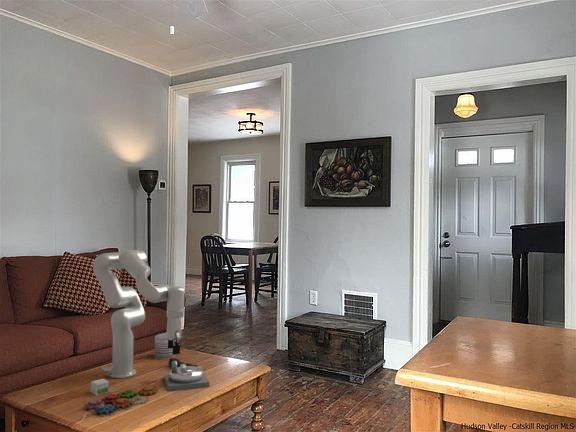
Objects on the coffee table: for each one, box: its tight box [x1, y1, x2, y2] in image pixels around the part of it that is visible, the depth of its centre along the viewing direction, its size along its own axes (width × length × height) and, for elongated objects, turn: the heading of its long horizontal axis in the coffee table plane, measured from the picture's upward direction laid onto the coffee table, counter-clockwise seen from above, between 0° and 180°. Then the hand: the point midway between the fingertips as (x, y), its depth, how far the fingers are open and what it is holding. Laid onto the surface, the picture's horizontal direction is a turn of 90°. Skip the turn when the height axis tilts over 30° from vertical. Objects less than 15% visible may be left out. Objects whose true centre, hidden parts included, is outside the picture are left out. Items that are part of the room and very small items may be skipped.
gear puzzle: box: [81, 385, 159, 418], centre depth 192 cm, size 31×16×4 cm, turn 144°
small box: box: [90, 378, 110, 396], centre depth 201 cm, size 6×6×5 cm
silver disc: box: [168, 361, 204, 383], centre depth 216 cm, size 15×15×8 cm
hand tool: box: [168, 357, 199, 368], centre depth 236 cm, size 19×4×5 cm, turn 54°
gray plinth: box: [163, 372, 210, 392], centre depth 216 cm, size 18×18×5 cm
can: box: [154, 332, 177, 360], centre depth 257 cm, size 11×11×12 cm
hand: (173, 351), depth 214 cm, fingers open, 9 cm apart
